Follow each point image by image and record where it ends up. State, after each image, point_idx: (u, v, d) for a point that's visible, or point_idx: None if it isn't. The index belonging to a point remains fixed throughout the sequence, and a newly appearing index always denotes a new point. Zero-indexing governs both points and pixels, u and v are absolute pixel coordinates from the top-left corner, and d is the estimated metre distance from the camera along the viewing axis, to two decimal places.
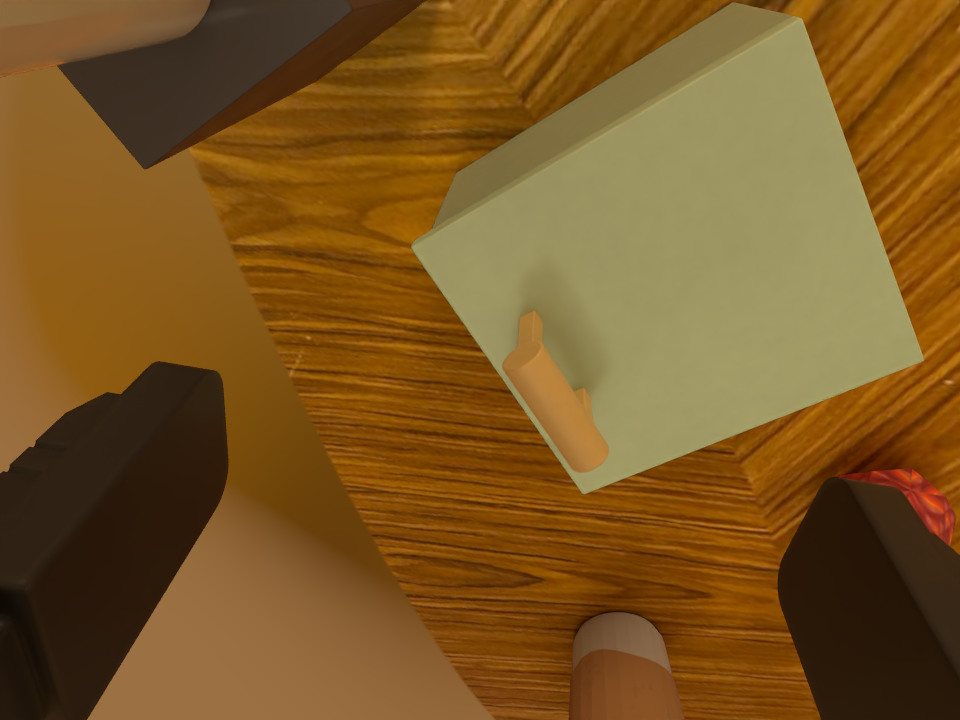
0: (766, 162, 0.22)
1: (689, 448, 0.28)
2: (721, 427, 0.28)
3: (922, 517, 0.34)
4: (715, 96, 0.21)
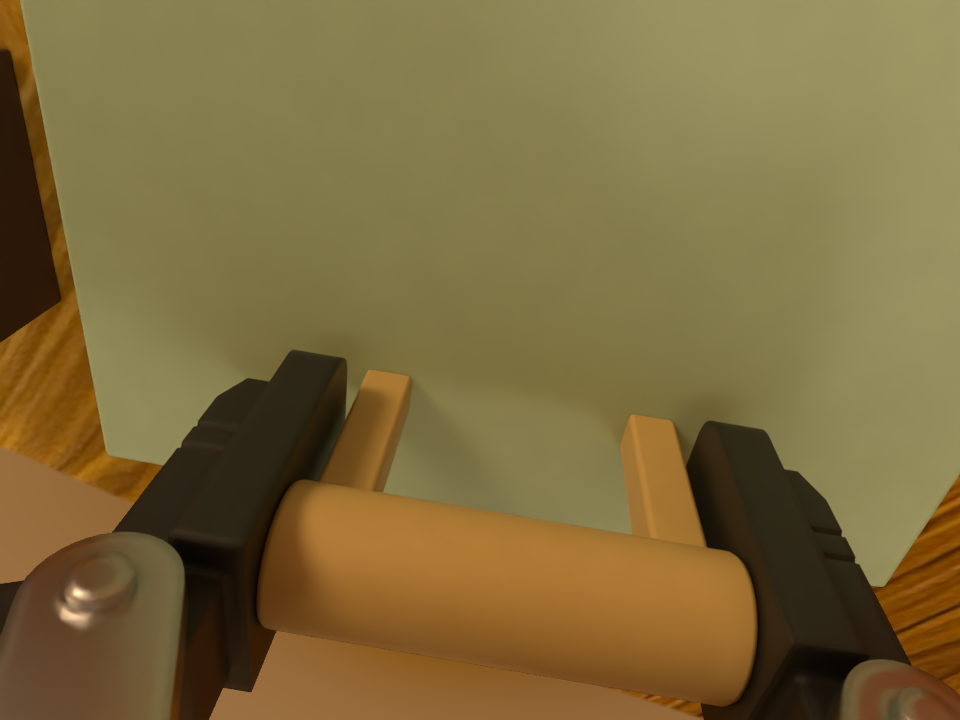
0: None
1: None
2: None
3: None
4: None
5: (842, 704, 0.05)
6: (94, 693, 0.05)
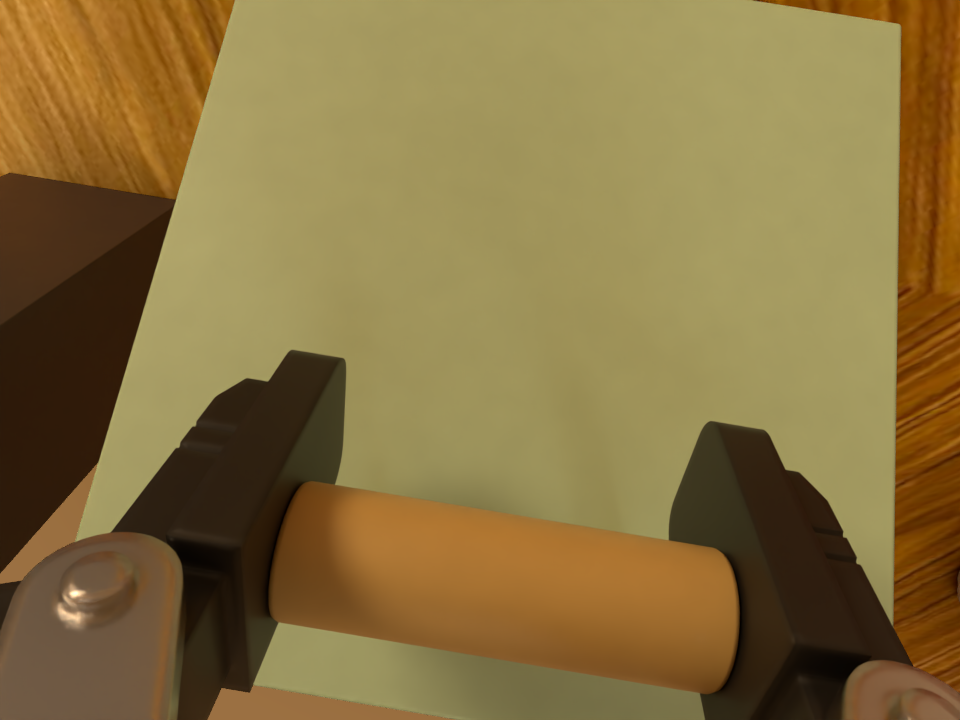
0: (403, 41, 0.13)
1: (882, 464, 0.12)
2: (862, 374, 0.12)
3: None
4: (260, 46, 0.13)
5: (843, 705, 0.05)
6: (91, 693, 0.05)
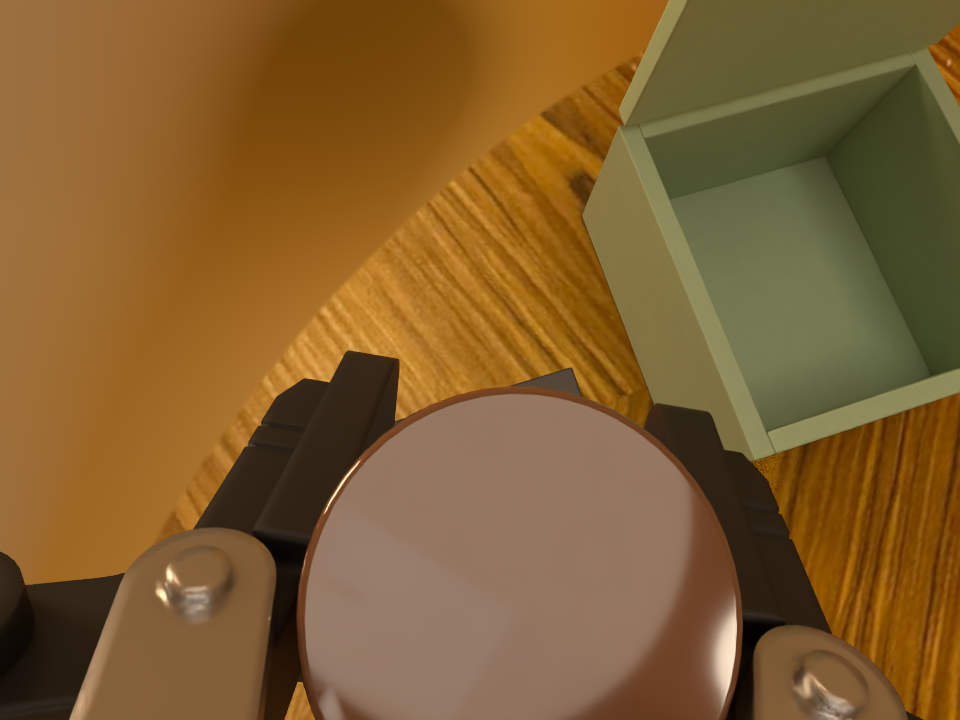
0: None
1: None
2: None
3: None
4: None
5: (751, 667, 0.06)
6: (206, 682, 0.05)
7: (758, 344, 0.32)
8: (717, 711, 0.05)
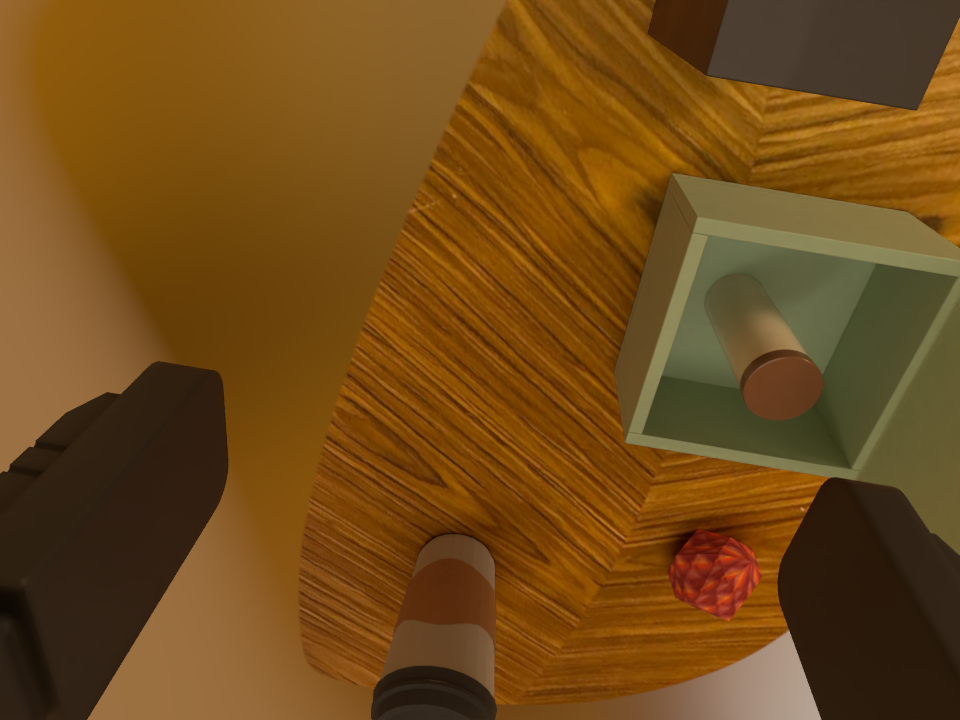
0: None
1: None
2: None
3: (747, 581, 0.47)
4: None
5: None
6: None
7: None
8: (749, 406, 0.33)
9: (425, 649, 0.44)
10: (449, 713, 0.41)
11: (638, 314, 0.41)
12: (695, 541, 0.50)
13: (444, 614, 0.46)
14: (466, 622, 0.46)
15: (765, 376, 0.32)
